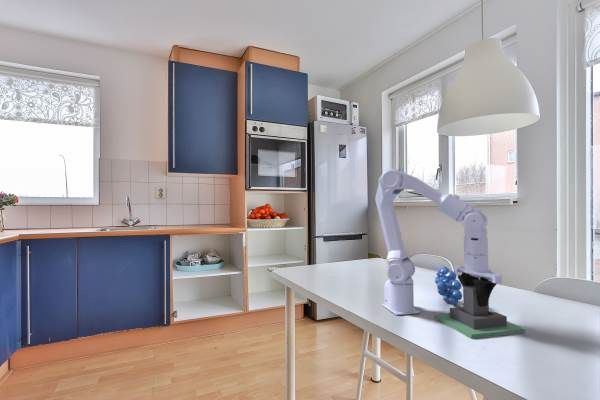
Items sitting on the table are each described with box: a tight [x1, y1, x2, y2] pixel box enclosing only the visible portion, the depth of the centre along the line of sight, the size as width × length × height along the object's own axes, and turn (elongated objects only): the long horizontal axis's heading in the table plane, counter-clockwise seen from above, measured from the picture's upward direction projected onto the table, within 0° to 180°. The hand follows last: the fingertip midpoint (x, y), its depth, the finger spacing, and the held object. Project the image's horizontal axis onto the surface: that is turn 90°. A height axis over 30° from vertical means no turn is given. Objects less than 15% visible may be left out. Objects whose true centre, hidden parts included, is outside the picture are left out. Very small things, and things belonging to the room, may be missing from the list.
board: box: [434, 306, 526, 339], centre depth 82 cm, size 14×16×4 cm
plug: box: [462, 285, 490, 316], centre depth 82 cm, size 4×5×7 cm
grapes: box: [434, 265, 463, 306], centre depth 101 cm, size 12×7×12 cm, turn 14°
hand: (476, 303), depth 82 cm, fingers closed on plug, 4 cm apart
